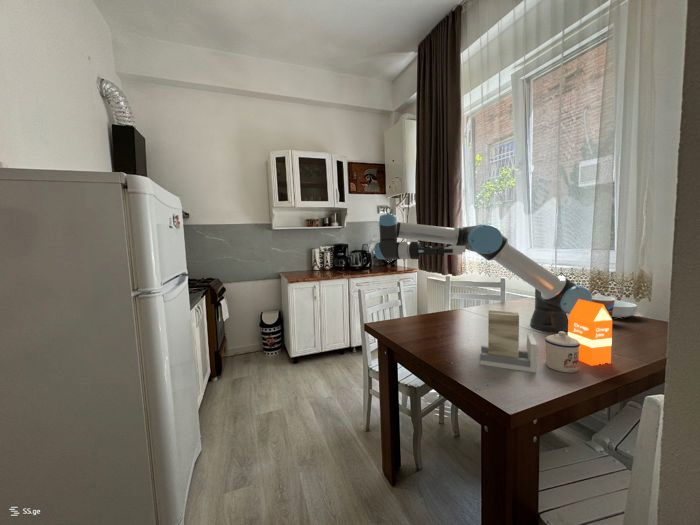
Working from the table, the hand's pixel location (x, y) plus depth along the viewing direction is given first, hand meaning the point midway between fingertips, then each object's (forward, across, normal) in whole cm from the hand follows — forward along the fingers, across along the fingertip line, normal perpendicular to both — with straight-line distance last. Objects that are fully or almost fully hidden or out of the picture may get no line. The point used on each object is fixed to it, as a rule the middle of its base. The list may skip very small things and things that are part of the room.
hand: (464, 249), depth 114 cm
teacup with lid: (+31, +10, -38) cm, 50 cm away
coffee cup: (+56, -51, -38) cm, 85 cm away
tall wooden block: (+13, +13, -37) cm, 41 cm away
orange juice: (+40, +1, -38) cm, 55 cm away
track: (+14, +13, -38) cm, 43 cm away
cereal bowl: (+65, -65, -38) cm, 100 cm away
